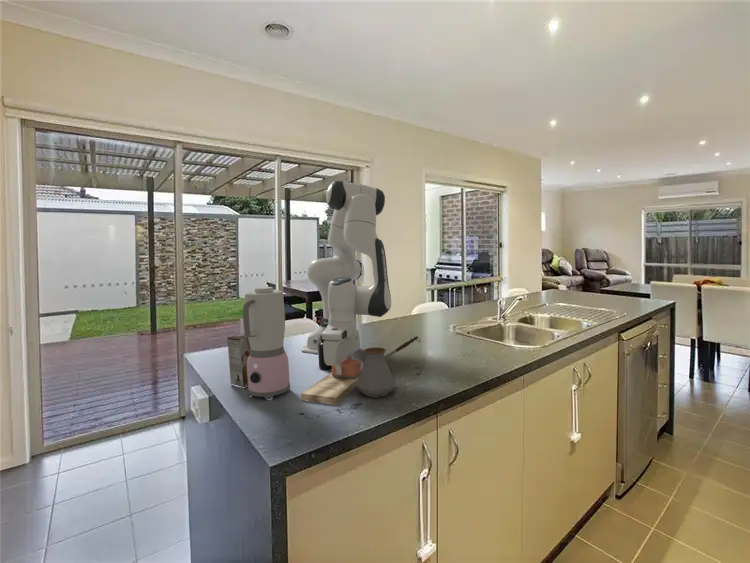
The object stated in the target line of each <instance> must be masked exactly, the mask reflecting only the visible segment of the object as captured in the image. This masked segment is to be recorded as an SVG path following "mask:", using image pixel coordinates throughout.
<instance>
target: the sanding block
mask: <svg viewBox="0 0 750 563" xmlns="http://www.w3.org/2000/svg"><path fill="white" fill-rule="evenodd" d="M341 366H342V368H343V374H341V375H337V374H336V368H335V366H332V369H331V372H332V376H334V377H345V378H356V377H358V376H359V375H360V373H361V370H362V361H361V359H354V358H352V359H345V360H343V361H342V364H341Z"/></svg>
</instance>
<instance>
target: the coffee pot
mask: <svg viewBox="0 0 750 563" xmlns="http://www.w3.org/2000/svg"><path fill="white" fill-rule="evenodd" d="M414 341H416V342H418V343H421V342H422V341H421V339H420V338H419V336H414V337H413V338H410V339H409V340H408V341H406V342H404V343H402V344H401V345H400V346H398V347H397V348H395V349H394V350H393V351H391V352H389V353H388V354H386V355H385V352H386V351H387V349H386V348H384V347H369V348H366V349H364V350H363V352H364V353H365V360H364V362H363V365H362V367H361V373H360V375H359V378H358V381H357V387H356V388H357V389H358V390H359V391H360V392H361V393H362V394H363V395H364V396H366V395H367V396H366V397H369V396H371V397H370V398H380V397H379V396H382V397H385V396H388V395H389V394H388V393H390V392H391V391H392V390H394V388H395V385H396V380H395V379H394V376H393V374H392V372H391V369H390V368H389V365H388V362H387V361H386V360H387V359H389V358H390V357H391V356H393V355H395V354H396V353H398V352H400V351H401V350H403V349H406V348H407V347H408V346H410V344H411V343H414ZM384 395H385V396H384Z"/></svg>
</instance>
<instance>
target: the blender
mask: <svg viewBox="0 0 750 563" xmlns="http://www.w3.org/2000/svg"><path fill="white" fill-rule="evenodd" d="M285 311H286V310H285V302H284V293H283V291H281V290H278V289H277V290H274V288H273V286H260V287H259V286H258V287H255V288H254V291H250V292H249V291H248V292H246V293H245V294H244V305H243V307H242V320H243V321H242V322H243V332H244V333H245V335H246V336H247V337H248V339H249V343H250V348H251V351H250V355H249V357H248V360H247V376H248V387H247V390H248V397H249V396H251V395H252V397H253V396H254V397H264V400H265V399H271V398H273V399H274V396H278V395H280V394H284V393H286V392H288V391H289V390H290V389H291V383H290V365H289V357H288V355H287V353H286V351H285V348H284V338H285V332H286V330H285V329H286V312H285Z"/></svg>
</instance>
